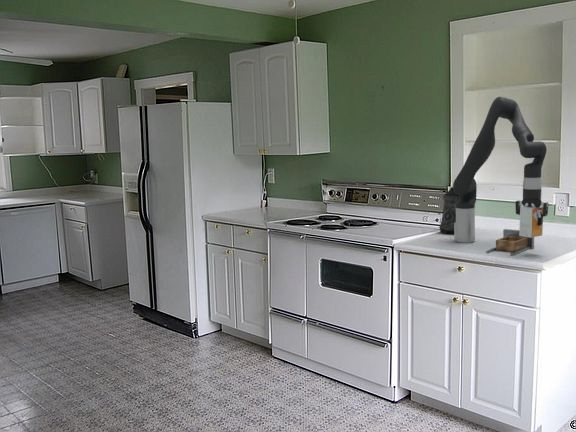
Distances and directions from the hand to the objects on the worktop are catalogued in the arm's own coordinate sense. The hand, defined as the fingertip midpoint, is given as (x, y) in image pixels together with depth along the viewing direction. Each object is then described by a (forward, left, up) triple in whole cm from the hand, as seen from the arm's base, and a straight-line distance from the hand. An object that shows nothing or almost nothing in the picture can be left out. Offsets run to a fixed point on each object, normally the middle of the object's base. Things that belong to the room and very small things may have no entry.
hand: (531, 224), depth 259 cm
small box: (0, 0, -5) cm, 5 cm away
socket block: (-12, +6, -13) cm, 19 cm away
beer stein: (-56, +34, -14) cm, 67 cm away
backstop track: (-12, +4, -14) cm, 18 cm away
